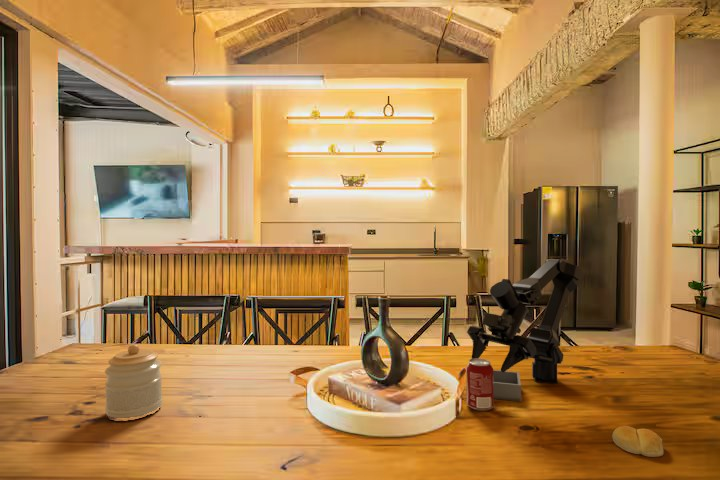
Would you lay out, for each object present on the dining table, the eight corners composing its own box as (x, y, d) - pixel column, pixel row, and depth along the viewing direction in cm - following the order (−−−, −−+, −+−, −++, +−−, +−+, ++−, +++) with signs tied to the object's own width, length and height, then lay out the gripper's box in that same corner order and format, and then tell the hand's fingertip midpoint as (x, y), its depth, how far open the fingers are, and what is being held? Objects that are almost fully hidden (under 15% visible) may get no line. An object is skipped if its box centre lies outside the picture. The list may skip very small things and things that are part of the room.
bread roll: (612, 434, 93) (612, 416, 93) (661, 445, 88) (661, 426, 88) (611, 450, 86) (611, 431, 86) (665, 463, 81) (665, 443, 81)
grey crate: (518, 387, 121) (518, 372, 120) (521, 402, 110) (521, 385, 110) (480, 383, 124) (480, 368, 124) (479, 397, 114) (479, 381, 114)
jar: (173, 405, 111) (172, 340, 111) (132, 426, 99) (131, 353, 99) (136, 399, 115) (135, 336, 115) (93, 419, 103) (91, 349, 103)
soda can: (495, 413, 103) (494, 366, 103) (467, 411, 105) (467, 364, 105) (492, 402, 110) (491, 358, 110) (466, 400, 111) (465, 356, 111)
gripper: (470, 297, 119) (445, 341, 113) (530, 306, 105) (504, 357, 98) (487, 321, 124) (463, 364, 118) (546, 332, 109) (523, 383, 103)
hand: (486, 366), depth 109 cm, fingers open, 9 cm apart
